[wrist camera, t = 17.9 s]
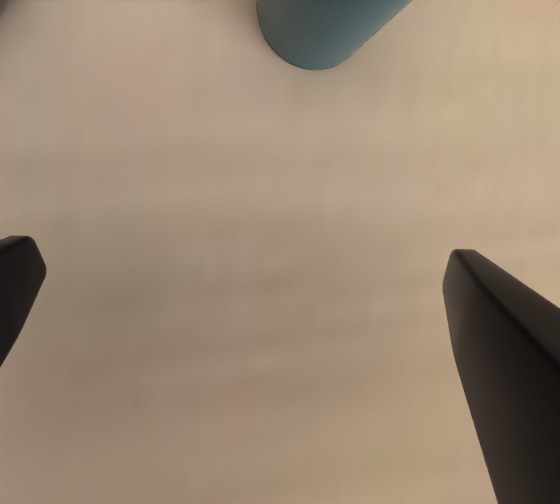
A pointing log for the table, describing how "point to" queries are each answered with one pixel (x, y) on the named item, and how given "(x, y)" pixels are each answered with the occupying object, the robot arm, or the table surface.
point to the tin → (322, 28)
